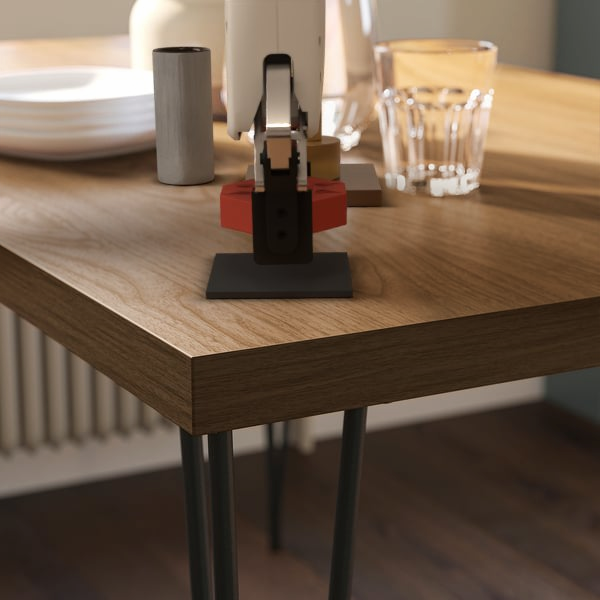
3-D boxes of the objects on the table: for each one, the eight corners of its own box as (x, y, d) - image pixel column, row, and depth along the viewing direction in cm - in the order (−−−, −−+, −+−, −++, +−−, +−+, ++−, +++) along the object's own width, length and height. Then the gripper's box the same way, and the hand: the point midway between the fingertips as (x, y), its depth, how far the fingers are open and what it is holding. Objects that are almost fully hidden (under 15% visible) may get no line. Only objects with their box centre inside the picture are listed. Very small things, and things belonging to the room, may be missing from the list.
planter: (180, 188, 91) (175, 53, 88) (146, 179, 95) (140, 49, 92) (226, 179, 94) (222, 48, 91) (191, 171, 98) (186, 45, 94)
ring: (218, 236, 63) (216, 203, 63) (226, 207, 70) (224, 177, 69) (348, 234, 63) (348, 201, 63) (343, 205, 70) (343, 175, 69)
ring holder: (242, 207, 85) (240, 112, 83) (248, 179, 94) (246, 93, 92) (381, 205, 85) (382, 111, 83) (373, 178, 94) (374, 92, 92)
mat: (205, 298, 64) (205, 291, 64) (215, 259, 72) (215, 253, 71) (353, 297, 64) (353, 290, 64) (347, 258, 72) (347, 251, 71)
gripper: (216, -80, 70) (227, 211, 75) (190, -84, 54) (207, 290, 59) (342, -83, 70) (344, 209, 75) (355, -88, 53) (357, 287, 59)
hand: (284, 242), depth 67 cm, fingers closed on ring, 7 cm apart
